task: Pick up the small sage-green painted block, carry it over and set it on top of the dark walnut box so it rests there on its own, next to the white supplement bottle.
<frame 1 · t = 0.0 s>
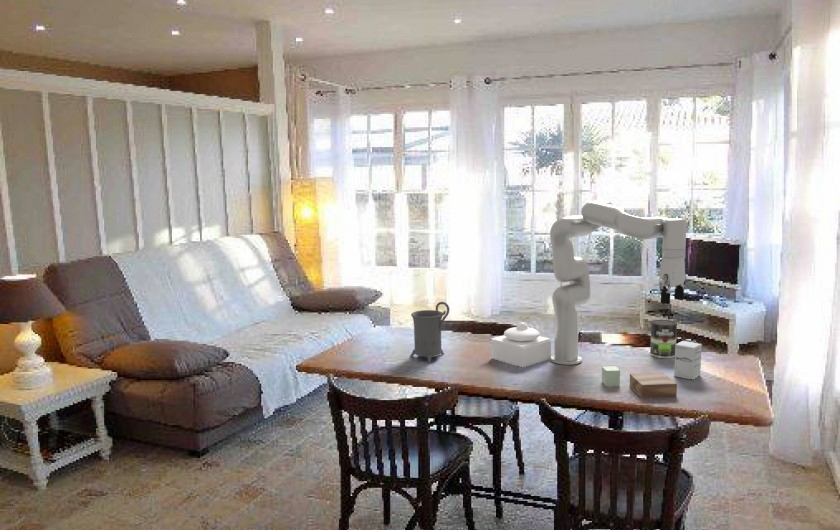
hand: (672, 301, 225), 31 cm above the table, tool pointing down, fingers open, 9 cm apart
mug: (430, 358, 272), on the table
coffee can: (663, 355, 268), on the table
supplement box: (687, 376, 240), on the table
green block: (610, 384, 234), on the table
walnut box: (652, 392, 225), on the table
white lidded container: (520, 359, 268), on the table
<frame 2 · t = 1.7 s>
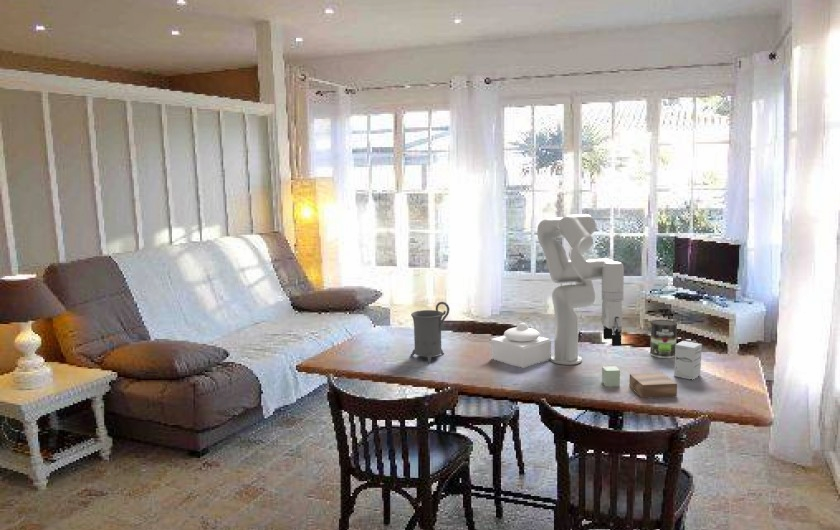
hand: (612, 342, 231), 16 cm above the table, tool pointing down, fingers open, 9 cm apart
nothing on the table moved.
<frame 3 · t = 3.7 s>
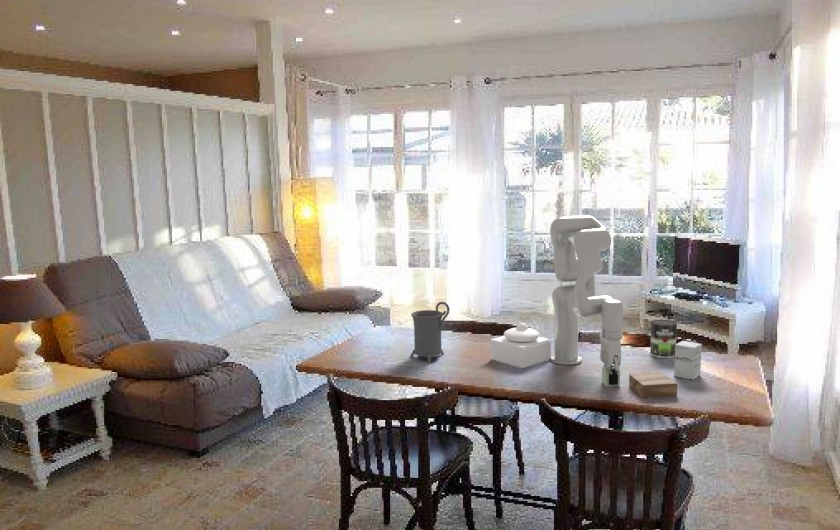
hand: (610, 381, 233), 1 cm above the table, tool pointing down, fingers closed on green block, 5 cm apart
green block: (610, 384, 234), on the table, touching gripper
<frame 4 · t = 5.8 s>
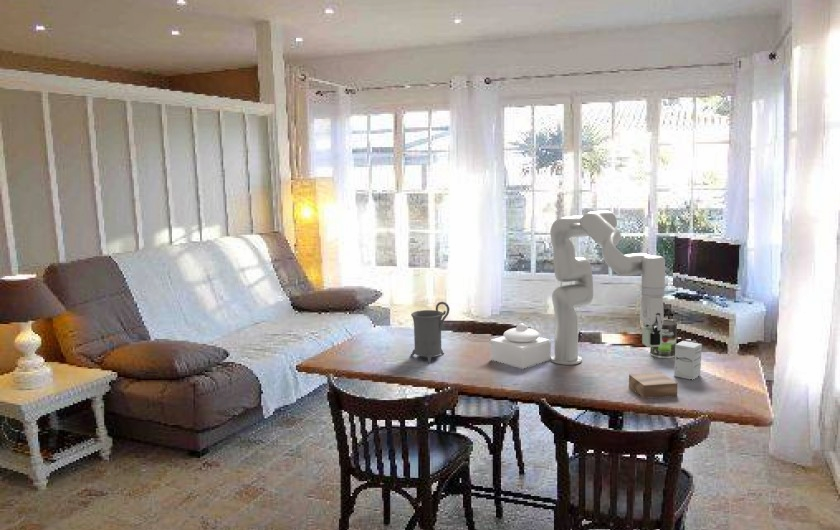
hand: (652, 342, 223), 18 cm above the table, tool pointing down, fingers closed on green block, 5 cm apart
green block: (651, 344, 223), point 17 cm above the table, touching gripper
when the fingers open (7 cm above the table, at t = 8.2 s): green block drops 1 cm, resting on walnut box.
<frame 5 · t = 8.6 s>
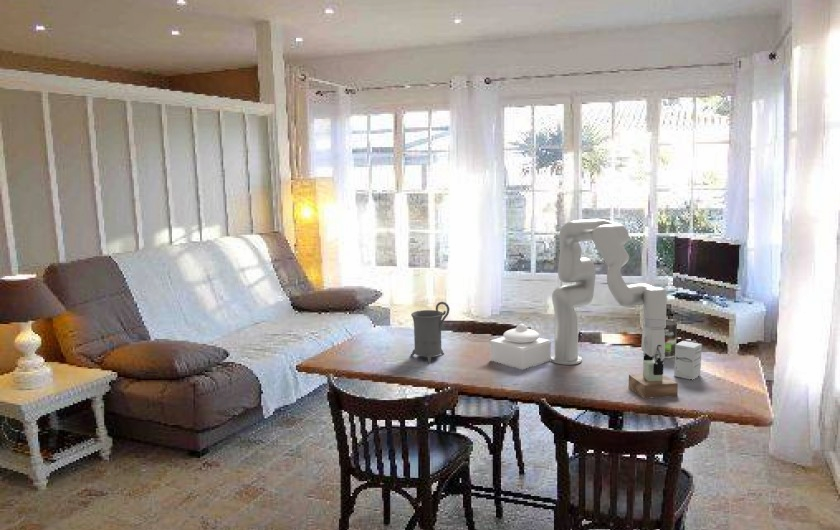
hand: (653, 370, 224), 8 cm above the table, tool pointing down, fingers open, 8 cm apart
green block: (652, 378, 224), point 5 cm above the table, touching walnut box
walnut box: (652, 392, 225), on the table, touching green block
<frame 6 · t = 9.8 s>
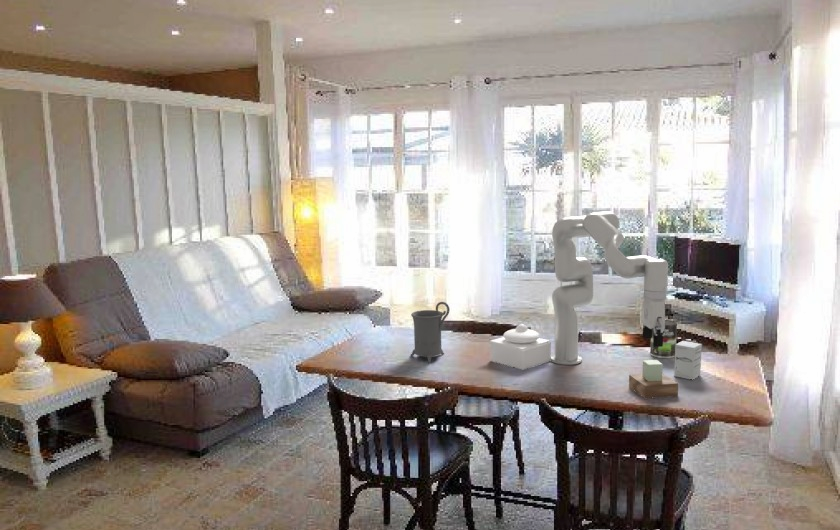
hand: (652, 342, 223), 18 cm above the table, tool pointing down, fingers open, 9 cm apart
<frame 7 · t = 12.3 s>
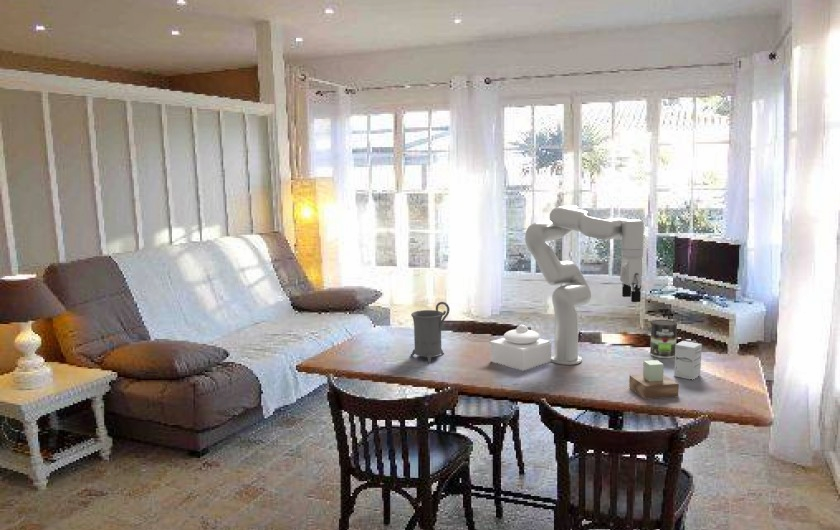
hand: (631, 299, 235), 30 cm above the table, tool pointing down, fingers open, 9 cm apart
at the end: green block inside the target area on the walnut box (0.4 cm from its centre), point 5.0 cm above the walnut box's base; green block tilted 0°; the gripper is holding nothing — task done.
